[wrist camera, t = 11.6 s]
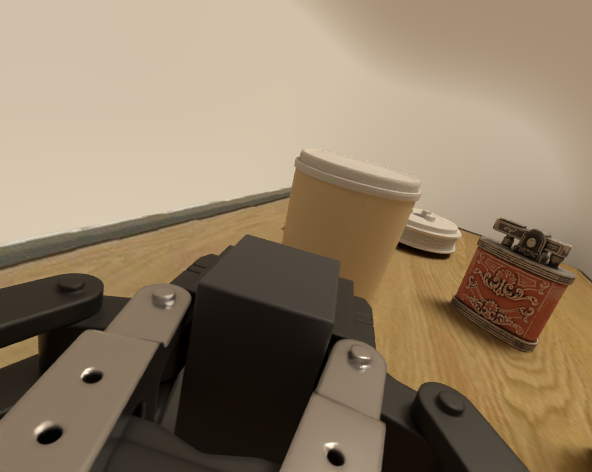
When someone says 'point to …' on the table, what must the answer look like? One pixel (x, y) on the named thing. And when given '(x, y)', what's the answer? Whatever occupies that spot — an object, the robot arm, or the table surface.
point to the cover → (254, 350)
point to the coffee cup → (349, 213)
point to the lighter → (514, 283)
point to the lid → (430, 232)
